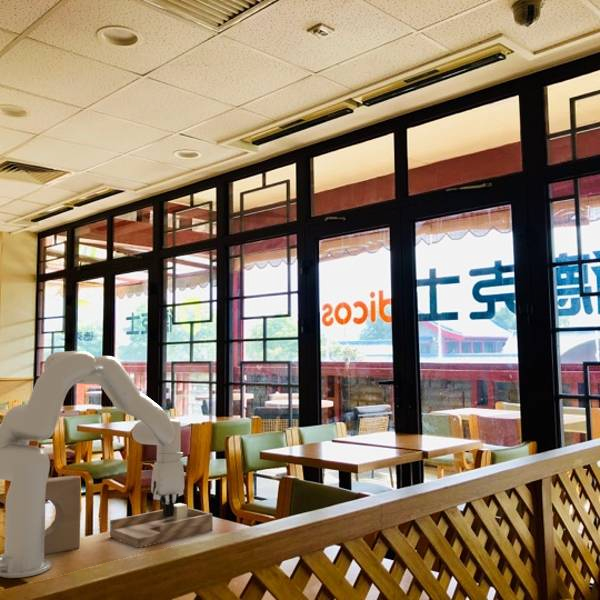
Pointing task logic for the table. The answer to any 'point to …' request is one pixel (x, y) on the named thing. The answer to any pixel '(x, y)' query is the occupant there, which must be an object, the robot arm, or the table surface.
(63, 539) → the decorative block
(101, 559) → the table surface
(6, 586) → the table surface
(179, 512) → the ivory block
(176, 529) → the box
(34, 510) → the robot arm
